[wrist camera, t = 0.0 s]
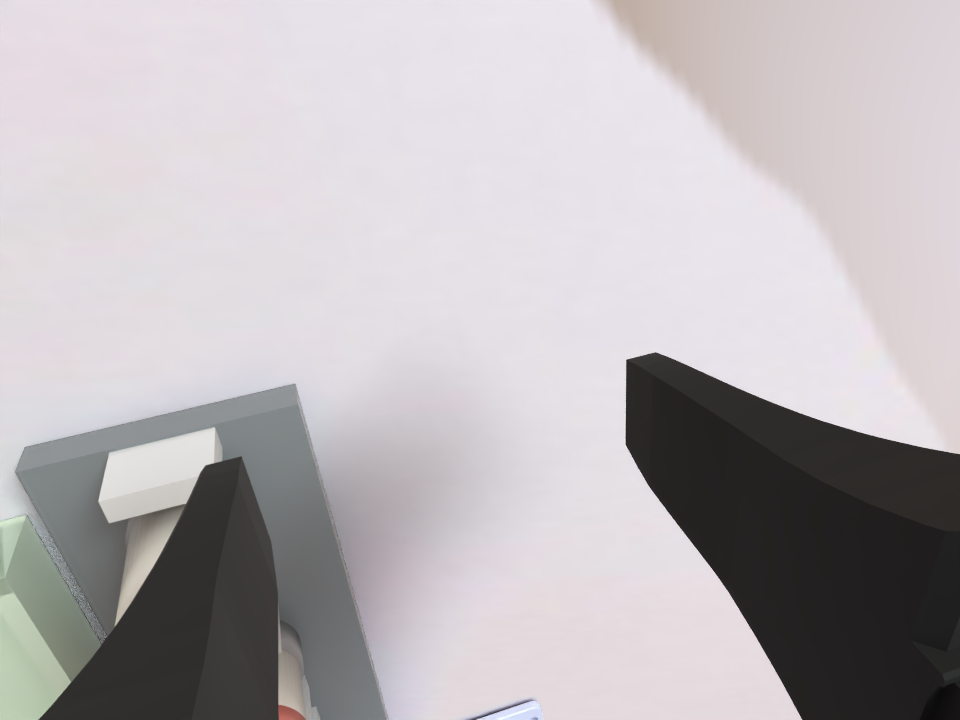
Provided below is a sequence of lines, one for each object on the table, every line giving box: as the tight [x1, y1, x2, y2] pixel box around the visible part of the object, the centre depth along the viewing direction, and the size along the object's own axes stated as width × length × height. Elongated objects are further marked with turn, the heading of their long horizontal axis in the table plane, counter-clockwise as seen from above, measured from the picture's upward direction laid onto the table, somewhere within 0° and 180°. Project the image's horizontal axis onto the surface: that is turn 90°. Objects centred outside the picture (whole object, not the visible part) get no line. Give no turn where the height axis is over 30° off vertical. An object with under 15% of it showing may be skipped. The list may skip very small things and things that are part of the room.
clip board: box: [15, 384, 389, 720], centre depth 26 cm, size 20×8×3 cm, turn 6°
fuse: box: [115, 504, 186, 626], centre depth 20 cm, size 4×4×8 cm
